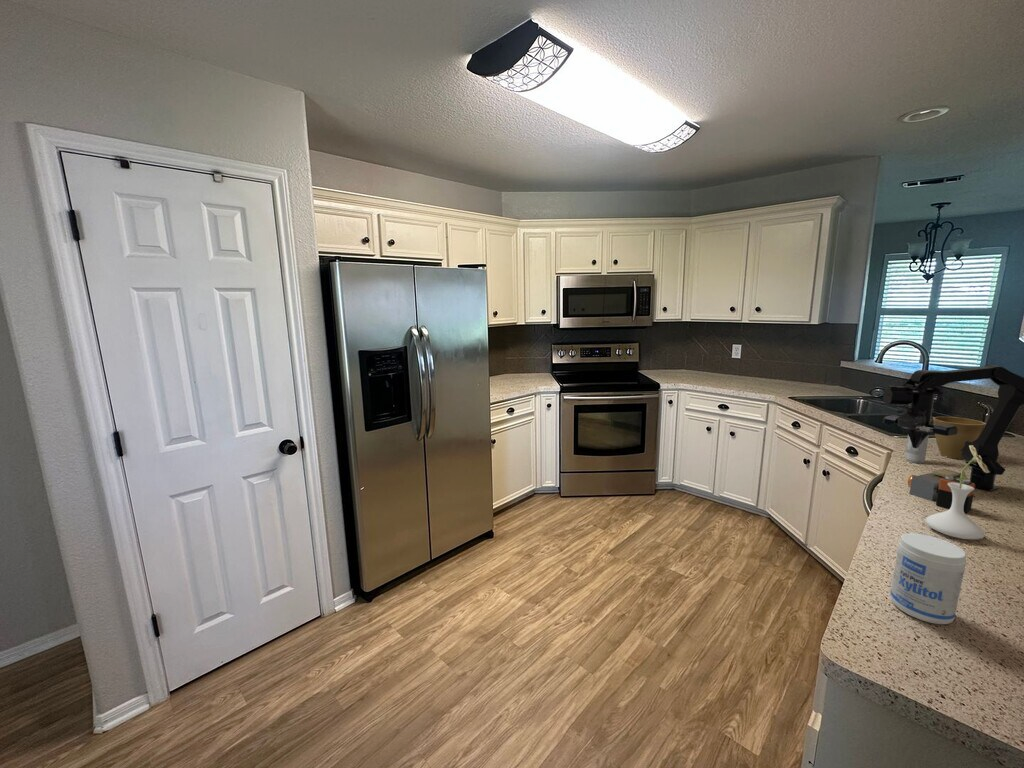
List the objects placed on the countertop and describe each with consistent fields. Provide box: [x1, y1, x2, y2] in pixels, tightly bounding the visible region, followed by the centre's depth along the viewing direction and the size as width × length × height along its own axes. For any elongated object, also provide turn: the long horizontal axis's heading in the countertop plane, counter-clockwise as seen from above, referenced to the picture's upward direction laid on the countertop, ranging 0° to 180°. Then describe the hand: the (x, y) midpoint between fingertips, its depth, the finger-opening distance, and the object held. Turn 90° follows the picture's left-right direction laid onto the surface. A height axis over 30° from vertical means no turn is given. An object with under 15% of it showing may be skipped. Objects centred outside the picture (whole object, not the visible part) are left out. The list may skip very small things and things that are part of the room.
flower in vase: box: [924, 445, 990, 540], centre depth 113 cm, size 13×11×25 cm
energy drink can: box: [904, 427, 930, 464], centre depth 169 cm, size 6×6×15 cm
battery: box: [935, 476, 975, 514], centre depth 128 cm, size 4×7×10 cm, turn 27°
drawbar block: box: [909, 472, 963, 502], centre depth 139 cm, size 16×6×6 cm, turn 109°
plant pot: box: [932, 416, 986, 460], centre depth 174 cm, size 15×15×16 cm
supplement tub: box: [889, 532, 967, 625], centre depth 84 cm, size 10×10×15 cm
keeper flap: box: [931, 468, 961, 477], centre depth 140 cm, size 7×4×1 cm, turn 109°
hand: (915, 447), depth 149 cm, fingers closed
